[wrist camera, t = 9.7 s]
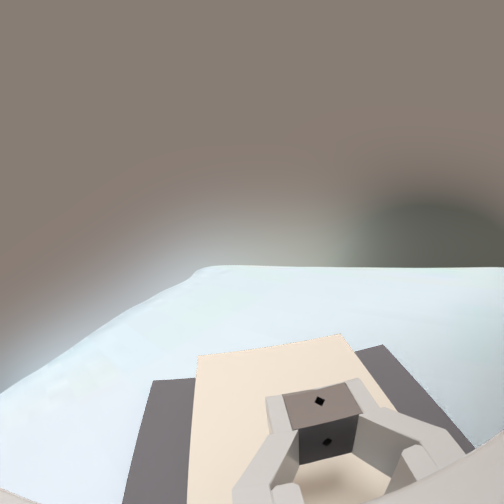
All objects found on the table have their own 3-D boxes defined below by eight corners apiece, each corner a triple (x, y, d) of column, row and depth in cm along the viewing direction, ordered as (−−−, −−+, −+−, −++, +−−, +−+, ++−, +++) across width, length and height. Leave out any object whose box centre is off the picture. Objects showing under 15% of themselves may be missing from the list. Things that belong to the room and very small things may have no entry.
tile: (450, 486, 7) (340, 333, 20) (185, 551, 6) (198, 355, 19) (432, 509, 7) (339, 359, 21) (200, 565, 6) (204, 381, 20)
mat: (536, 535, 2) (540, 531, 2) (108, 641, 1) (103, 641, 1) (382, 348, 22) (382, 344, 22) (154, 384, 20) (153, 380, 20)
